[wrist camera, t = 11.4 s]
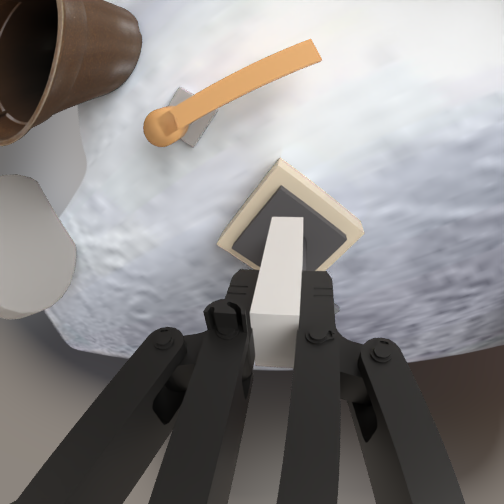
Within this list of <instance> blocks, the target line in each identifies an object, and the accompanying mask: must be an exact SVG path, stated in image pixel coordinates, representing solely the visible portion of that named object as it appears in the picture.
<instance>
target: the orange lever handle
mask: <svg viewBox="0 0 504 504" xmlns="http://www.w3.org/2000/svg"><path fill="white" fill-rule="evenodd" d="M321 61H322V59H321V57H320V55H319V53H318V51H317V49H316V47H315V45H314V44H313V42H312V40H311V39H309V40H306V41H304V42H301V43H299V44H296V45H294V46H291V47H289V48H286V49H284V50H282V51H279V52H277V53H275V54H272V55H270V56H268V57H266V58H264V59H261V60H259V61H257V62H255V63H253V64H251V65H249V66H247V67H245V68H243V69H241V70H239V71H237V72H235V73H233V74H231V75H229V76H227V77H225V78H223V79H221V80H220V81H218V82H216V83H214V84H212V85H211V86H209V87H207V88H205V89H203V90H202V91H200V92H198V93H196V94H195V95H193V96H191V97H190V98H188V99H186V100H185V101H183V102H181V103H180V104H178V105H177V106H167V107H164V108H160V109H157V110H154V111H152V112H151V113H149V114H148V116H147V117H146V119H145V121H144V126H143V129H144V134H145V136H146V138H147V140H148V141H149V142H150V143H151V144H153V145H155V146H158V147H165V146H168V145H170V144H172V143H174V142H175V141H177V140H179V139H181V138H182V137H183V136H184V135H185V134H186V132H187V130H188V127H189V124H191V123H192V122H194V121H196V120H198V119H199V118H201V117H203V116H205V115H206V114H208V113H210V112H212V111H214V110H216V109H218V108H219V107H221V106H223V105H225V104H227V103H229V102H231V101H233V100H235V99H237V98H239V97H241V96H243V95H245V94H247V93H249V92H251V91H253V90H255V89H257V88H259V87H262V86H264V85H266V84H268V83H270V82H272V81H275V80H277V79H279V78H281V77H284V76H286V75H288V74H291V73H293V72H296V71H298V70H300V69H303V68H305V67H308V66H310V65H313V64H316V63H318V62H321Z"/></svg>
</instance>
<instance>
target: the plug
mask: <svg viewBox="0 0 504 504" xmlns="http://www.w3.org/2000/svg"><path fill="white" fill-rule="evenodd" d="M272 217H303V266H302V271H315V270H317V269H318V268H319V267H320V266H321V265H322V264H323V263H324V262H325V261H326V260H327V259H328V258H329V257H330V256H331V255H332V254H333V253H334V252H335V251H336V250H338V249H339V248H340V247H341V246H342V245H343V244H344V243H345V242H346V241H347V237H346V234H345V233H343V232H342V231H341V230H340V229H338V228H337V227H336V226H334V225H333V224H332V223H331V222H329V221H328V220H327V219H326V218H324V217H323V216H322V215H320V214H319V213H318V212H317V211H315V210H314V209H313V208H311V207H310V206H309V205H307V204H306V203H305V202H303V201H302V200H301V199H299V198H298V197H297V196H295V195H294V194H293V193H291V192H290V191H289V190H287V189H286V188H285V187H283V186H282V185H281V186H280V187H279V188H278V189H277V190H276V192H275V193H274V194H273V195H272V196H271V198H270V199H269V200H268V201H267V203H266V204H265V205H264V206H263V207H262V209H261V210H260V211H259V212H258V214H257V215H256V216H255V217H254V219H253V220H252V221H251V222H250V223H249V225H248V226H247V227H246V228H245V230H244V231H243V232H242V233H241V235H240V236H239V237H238V238H237V240H236V241H235V242H234V244H233V246H232V249H233V250H235V251H236V252H238V253H239V254H241V255H242V256H244V257H245V258H247V259H248V260H250V261H251V262H253V263H254V264H256V265H257V266H259V267H261V263H262V258H263V254H264V250H265V245H266V241H267V237H268V232H269V228H270V224H271V219H272Z"/></svg>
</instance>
